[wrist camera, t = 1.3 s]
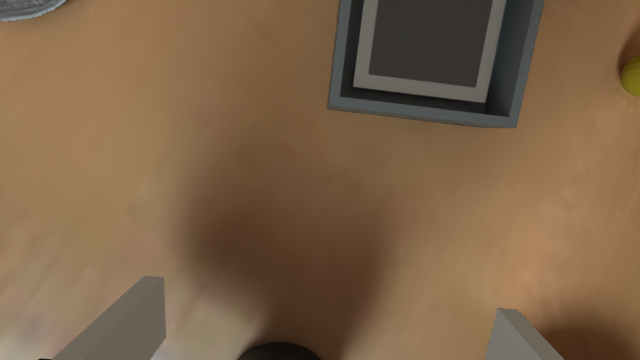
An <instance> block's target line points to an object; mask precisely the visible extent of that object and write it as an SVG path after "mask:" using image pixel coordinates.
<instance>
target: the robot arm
mask: <svg viewBox="0 0 640 360" xmlns="http://www.w3.org/2000/svg"><path fill="white" fill-rule="evenodd" d="M165 338H166V325H165V299H164V278H163V277H152V276H144V277H142V278H141V279H140V280H139V281H138V282H137V283H136V284H135V285H134V286H132V287H131V288H130V289H129V290H128V291H127V292H126V293H125V294H124V295H122V296H121V297H120V298H119V299H118V300H117V301H116V302H115V303H114V304H112V305H111V306H110V307H109V308H108V309H107V310H106V311H105V312H104V313H102V314H101V315H100V316H99V317H98V318H97V319H96V320H95V321H94V322H92V323H91V324H90V325H89V326H88V327H87V328H86V329H85V330H84V331H82V332H81V333H80V334H79V335H78V336H77V337H76V338H75V339H74V340H72V341H71V342H70V343H69V344H68V345H67V346H66V347H65V348H64V349H63V350H61V351H60V352H59V353H58V354H57V355H56V356H55V357H54V358H53V359H41V358H40V359H38V360H150V359H151V357H152V356H153V355H154V353H155V352H156V350H157V349H158V348H159V346H160V345H161V343H162V342H163V341H164V339H165ZM239 360H321V359H320V358H319V357H318V356H317V355H315V354H314V353H313V352H311V351H310V350H308V349H306V348H304V347H301V346H299V345H295V344H291V343H283V342H276V343H268V344H264V345H261V346H258V347H256V348H254V349H252V350H250V351H248V352H247V353H245V354H244V355H243V356H242V357H241V358H240V359H239ZM485 360H564V359H563V357H562V356H561V355H560V354H559V353H558V352H557V351H556V350H555V349H554V348H553V347H552V346H551V345H550V344H549V343H548V342H547V341H546V340H545V338H544V337H543V336H542V335H541V334H540V333H539V332H538V331H537V330H536V329H535V328H534V327H533V326H532V325H531V324H530V323H529V322H528V320H527V319H526V318H525V317H524V316H523V315H522V314H521V313H520V312H519V311H518V310H514V309H503V308H498V309H497V313H496V317H495V321H494V325H493V329H492V333H491V337H490V341H489V345H488V349H487V353H486V357H485Z"/></svg>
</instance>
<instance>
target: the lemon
mask: <svg viewBox="0 0 640 360" xmlns="http://www.w3.org/2000/svg"><path fill="white" fill-rule="evenodd" d="M620 80H621V84H622V86H623V88H624V89H625V90H626V91H627V92H629V93H630V94H632V95H635V96H639V97H640V53H639V54H638V55H636V56H635V57H633V58H632V59H631V60H630V61H629V62H628V63H627V64H626V65H625V67H624V68H623V70H622V73H621V77H620Z"/></svg>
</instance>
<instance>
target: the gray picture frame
mask: <svg viewBox="0 0 640 360" xmlns="http://www.w3.org/2000/svg"><path fill="white" fill-rule="evenodd" d="M505 3H506V0H363V6H362V14H361V21H360V29H359V37H358V45H357V52H356V60H355V68H354V76H353V84H352V88H357V89H365V90H374V91H382V92H390V93H398V94H406V95H414V96H422V97H431V98H439V99H447V100H455V101H463V102H471V103H480V104H481V103H485V102H486V97H487V92H488V87H489V82H490V77H491V72H492V67H493V62H494V57H495V52H496V47H497V42H498V37H499V32H500V28H501V23H502V18H503V13H504V8H505Z"/></svg>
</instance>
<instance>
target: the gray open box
mask: <svg viewBox="0 0 640 360" xmlns="http://www.w3.org/2000/svg"><path fill="white" fill-rule="evenodd" d="M543 4H544V0H506V3H505V8H504V13H503V18H502V23H501V28H500V32H499V37H498V42H497V47H496V52H495V57H494V62H493V67H492V72H491V77H490V82H489V87H488V92H487V97H486V102H485V103H481V104H480V103H471V102H463V101H455V100H447V99H439V98H431V97H422V96H414V95H406V94H398V93H390V92H382V91H374V90H365V89H357V88H352V84H353V76H354V68H355V60H356V52H357V45H358V37H359V29H360V21H361V14H362V6H363V0H339V7H338V16H337V25H336V33H335V42H334V50H333V59H332V67H331V76H330V85H329V93H328V102H327V109H330V110H339V111H347V112H355V113H364V114H372V115H381V116H389V117H397V118H406V119H414V120H422V121H431V122H439V123H447V124H456V125H464V126H472V127H481V128H516V126H517V121H518V117H519V112H520V108H521V103H522V99H523V94H524V90H525V85H526V81H527V76H528V72H529V67H530V63H531V58H532V54H533V49H534V45H535V40H536V36H537V31H538V27H539V22H540V18H541V13H542V9H543Z"/></svg>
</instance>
